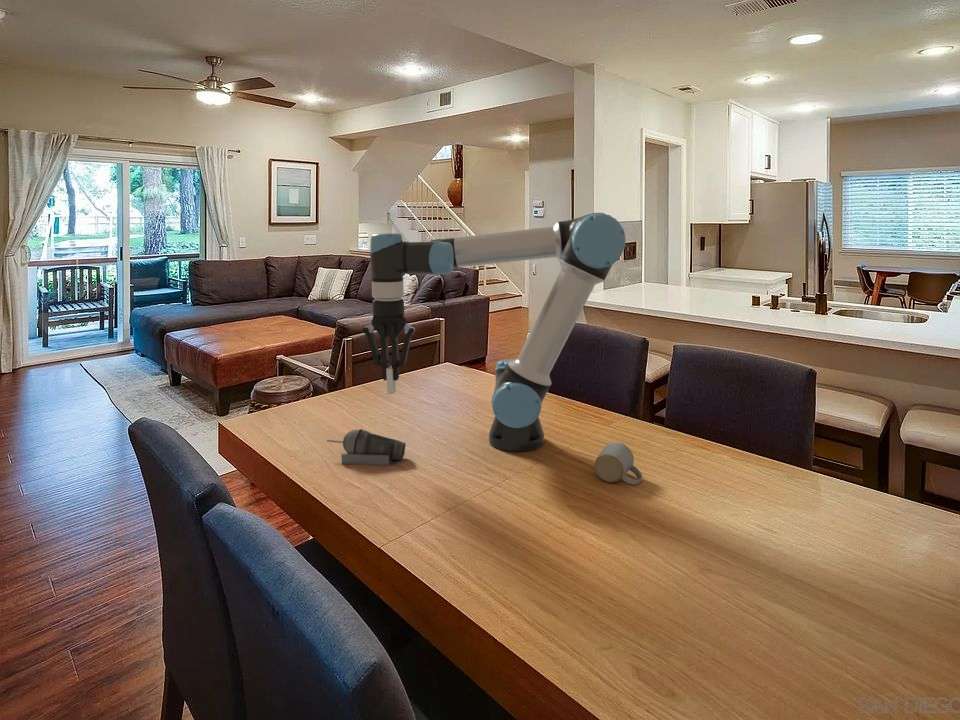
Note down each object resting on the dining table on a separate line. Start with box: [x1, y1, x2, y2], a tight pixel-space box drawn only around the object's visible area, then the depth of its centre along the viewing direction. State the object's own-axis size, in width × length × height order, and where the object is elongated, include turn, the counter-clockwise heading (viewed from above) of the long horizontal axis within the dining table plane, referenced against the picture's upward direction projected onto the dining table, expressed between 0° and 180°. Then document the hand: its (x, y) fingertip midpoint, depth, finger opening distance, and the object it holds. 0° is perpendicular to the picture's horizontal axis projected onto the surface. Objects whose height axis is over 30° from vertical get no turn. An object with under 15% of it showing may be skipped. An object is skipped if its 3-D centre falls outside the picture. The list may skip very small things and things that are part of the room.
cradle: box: [340, 452, 393, 467], centre depth 151 cm, size 12×11×2 cm
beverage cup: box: [326, 428, 406, 461], centre depth 149 cm, size 7×7×20 cm
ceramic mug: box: [594, 441, 643, 486], centre depth 137 cm, size 11×8×8 cm
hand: (391, 392), depth 146 cm, fingers closed
